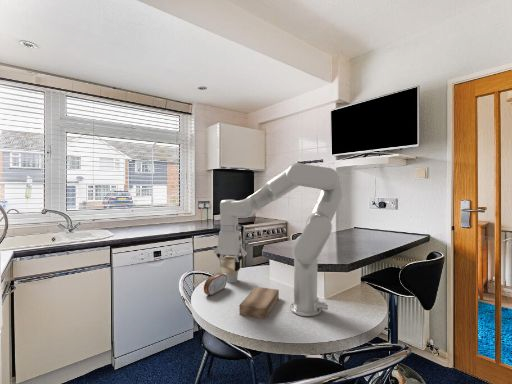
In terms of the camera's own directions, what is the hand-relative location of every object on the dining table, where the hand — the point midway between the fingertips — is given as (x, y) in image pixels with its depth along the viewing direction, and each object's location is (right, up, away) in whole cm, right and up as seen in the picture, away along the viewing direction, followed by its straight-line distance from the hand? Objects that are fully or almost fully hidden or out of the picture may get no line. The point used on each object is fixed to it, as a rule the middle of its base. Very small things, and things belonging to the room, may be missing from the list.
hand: (230, 269), depth 123 cm
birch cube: (0, -1, 0) cm, 1 cm away
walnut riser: (+13, -16, -1) cm, 20 cm away
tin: (-8, -15, +14) cm, 23 cm away
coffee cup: (-2, -14, +29) cm, 33 cm away
